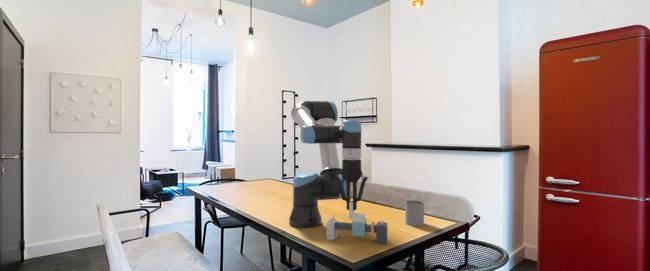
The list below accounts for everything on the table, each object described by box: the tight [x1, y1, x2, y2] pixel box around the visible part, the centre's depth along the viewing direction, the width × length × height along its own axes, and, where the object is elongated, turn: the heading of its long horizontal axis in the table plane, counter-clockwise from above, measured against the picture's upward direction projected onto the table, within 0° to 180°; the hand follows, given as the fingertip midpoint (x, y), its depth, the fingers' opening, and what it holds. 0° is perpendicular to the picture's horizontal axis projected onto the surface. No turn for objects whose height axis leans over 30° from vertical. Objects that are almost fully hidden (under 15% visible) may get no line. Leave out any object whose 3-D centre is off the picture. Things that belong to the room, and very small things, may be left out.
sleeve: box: [351, 212, 368, 237], centre depth 127 cm, size 5×5×8 cm
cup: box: [404, 199, 425, 227], centre depth 149 cm, size 8×8×10 cm
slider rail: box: [326, 216, 389, 246], centre depth 127 cm, size 24×6×8 cm, turn 74°
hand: (351, 218), depth 127 cm, fingers closed
